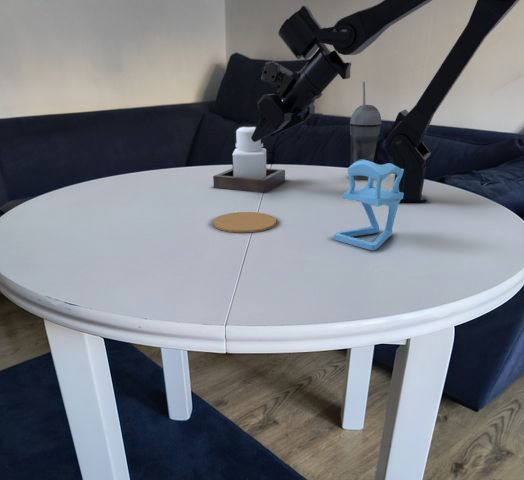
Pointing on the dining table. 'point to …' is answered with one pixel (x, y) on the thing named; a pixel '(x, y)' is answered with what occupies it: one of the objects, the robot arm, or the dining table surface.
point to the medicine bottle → (248, 155)
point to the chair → (372, 201)
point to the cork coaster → (244, 222)
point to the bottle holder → (249, 181)
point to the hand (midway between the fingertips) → (261, 137)
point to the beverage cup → (364, 133)
